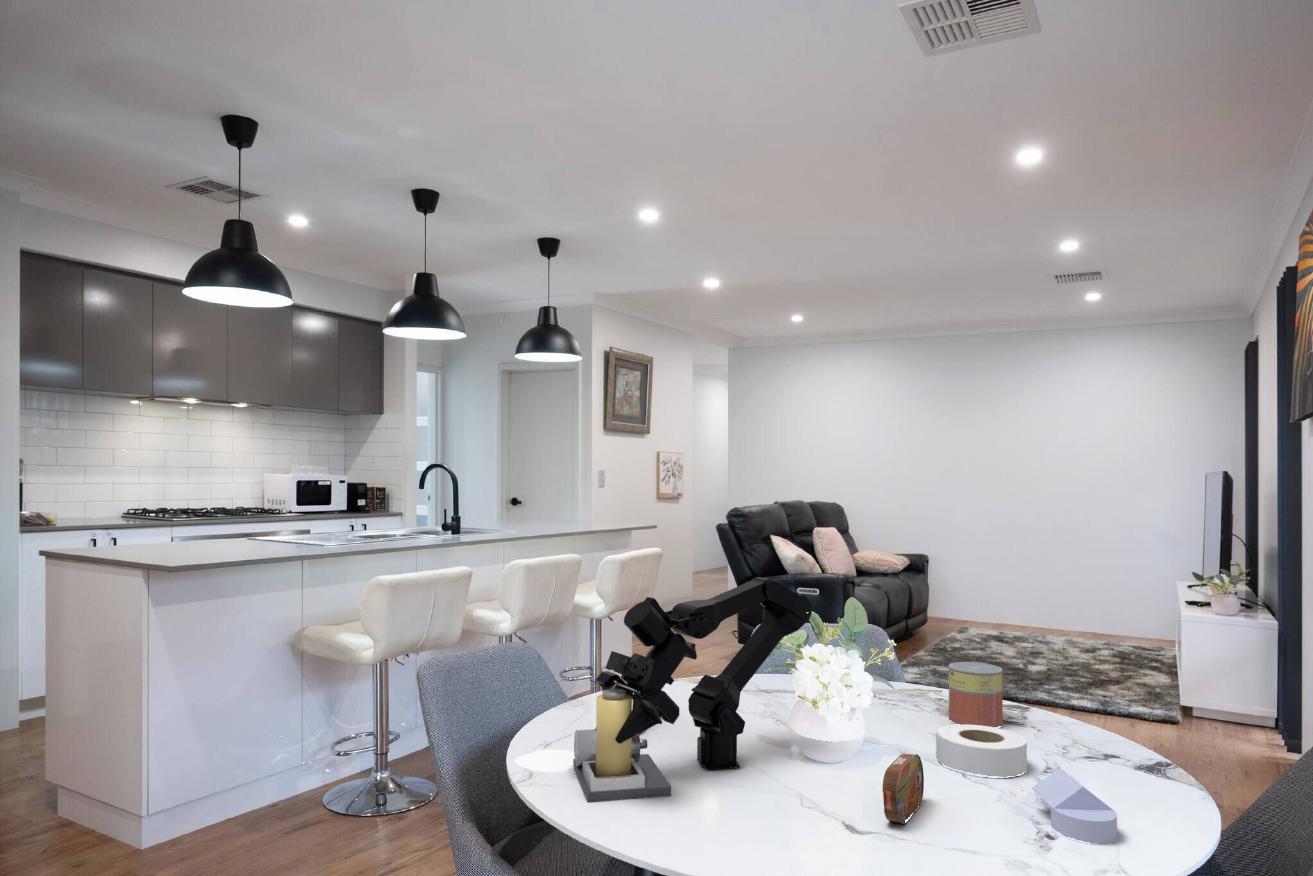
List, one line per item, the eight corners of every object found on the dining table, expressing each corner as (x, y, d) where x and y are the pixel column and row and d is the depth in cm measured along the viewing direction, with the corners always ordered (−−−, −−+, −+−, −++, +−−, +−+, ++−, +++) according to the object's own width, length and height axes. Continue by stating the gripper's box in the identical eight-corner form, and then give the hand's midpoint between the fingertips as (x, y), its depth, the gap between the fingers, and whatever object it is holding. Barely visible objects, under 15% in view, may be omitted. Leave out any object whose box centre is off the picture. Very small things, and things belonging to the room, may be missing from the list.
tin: (899, 832, 128) (899, 775, 129) (879, 827, 130) (879, 771, 130) (925, 800, 141) (925, 749, 141) (906, 796, 143) (906, 745, 143)
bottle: (634, 770, 147) (634, 688, 147) (627, 782, 141) (628, 697, 141) (599, 768, 148) (600, 686, 148) (592, 780, 142) (593, 695, 142)
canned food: (957, 712, 195) (956, 659, 195) (1008, 721, 188) (1008, 666, 189) (941, 723, 186) (941, 668, 186) (995, 733, 179) (995, 675, 180)
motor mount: (648, 762, 158) (648, 721, 158) (671, 795, 142) (671, 750, 142) (573, 767, 155) (573, 725, 155) (587, 802, 138) (588, 755, 139)
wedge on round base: (1031, 809, 138) (1066, 843, 125) (1030, 767, 138) (1065, 797, 125) (1087, 810, 138) (1129, 845, 125) (1087, 768, 138) (1128, 798, 125)
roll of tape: (932, 749, 169) (932, 720, 169) (1017, 755, 166) (1016, 726, 166) (941, 776, 154) (941, 744, 154) (1035, 783, 150) (1035, 751, 150)
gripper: (605, 625, 155) (550, 696, 148) (665, 642, 140) (608, 721, 133) (640, 664, 159) (589, 734, 152) (703, 684, 144) (649, 763, 137)
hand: (607, 737), depth 144 cm, fingers closed on bottle, 6 cm apart
